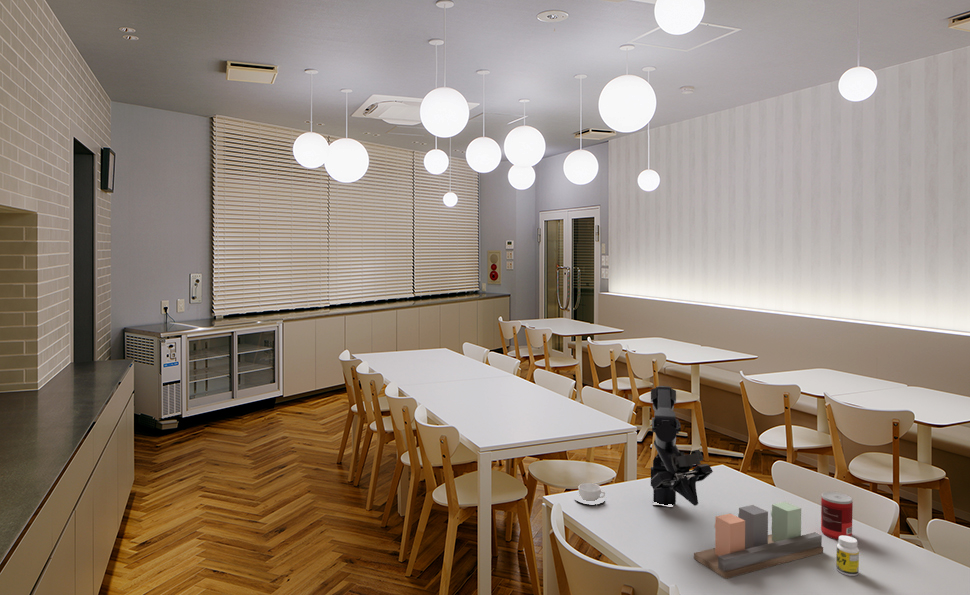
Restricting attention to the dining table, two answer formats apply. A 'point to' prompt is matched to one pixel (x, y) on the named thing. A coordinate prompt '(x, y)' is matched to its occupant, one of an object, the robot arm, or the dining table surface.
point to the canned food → (836, 514)
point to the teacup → (590, 491)
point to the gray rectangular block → (754, 525)
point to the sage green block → (785, 521)
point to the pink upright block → (729, 534)
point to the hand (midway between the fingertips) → (696, 504)
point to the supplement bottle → (847, 556)
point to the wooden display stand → (761, 555)
